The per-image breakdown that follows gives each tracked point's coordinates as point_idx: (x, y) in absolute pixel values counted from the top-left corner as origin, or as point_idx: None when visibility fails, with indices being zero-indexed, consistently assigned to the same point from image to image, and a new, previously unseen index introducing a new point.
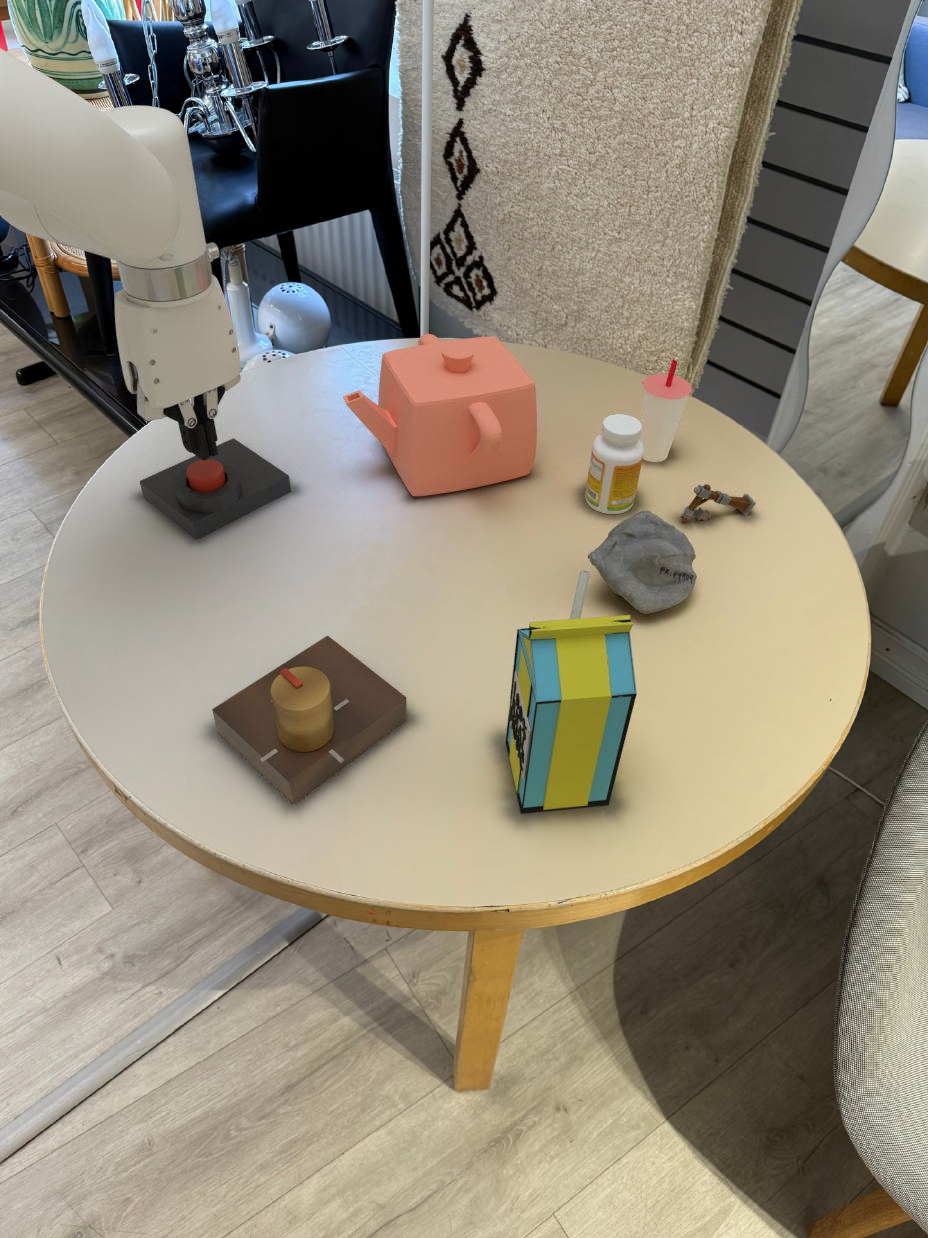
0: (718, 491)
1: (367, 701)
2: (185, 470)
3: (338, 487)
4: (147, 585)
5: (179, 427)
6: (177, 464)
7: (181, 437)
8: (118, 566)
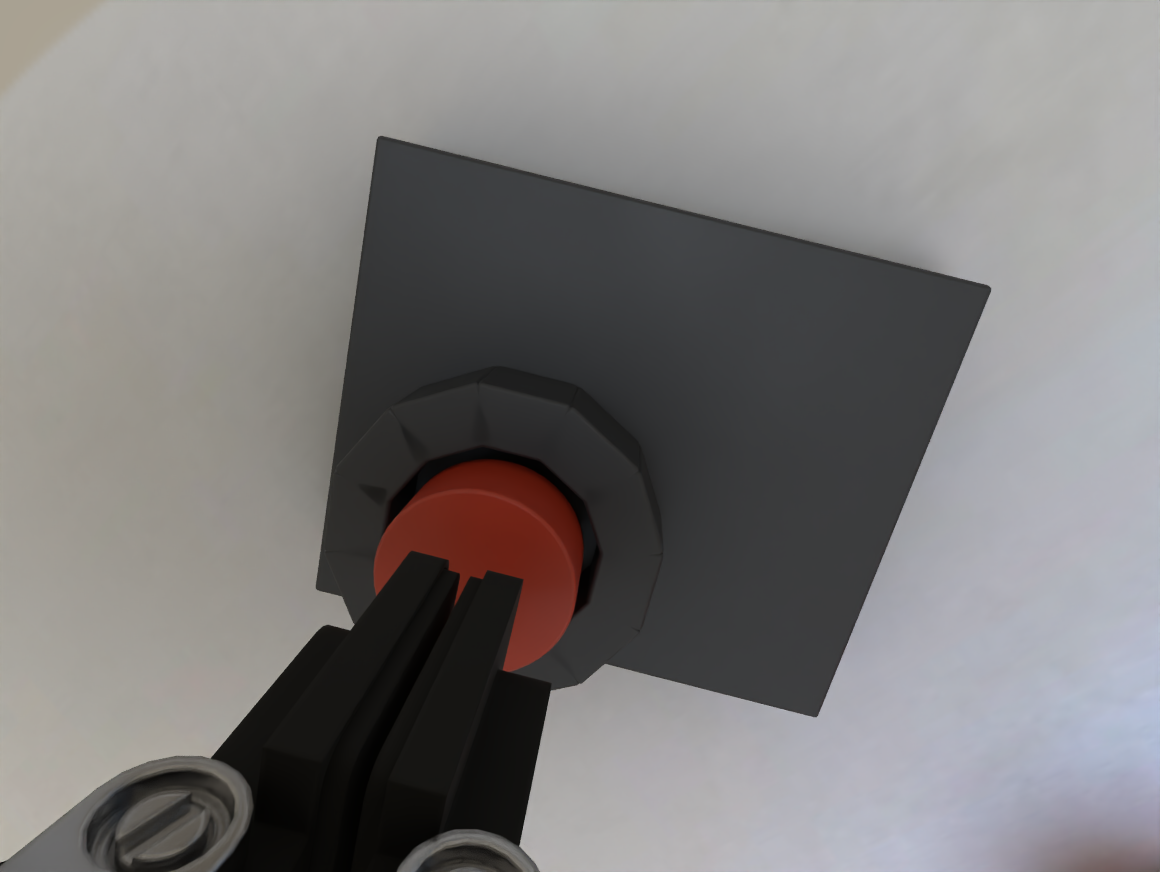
0: None
1: None
2: (484, 404)
3: (915, 786)
4: (87, 559)
5: (233, 734)
6: (606, 203)
7: (291, 663)
8: (71, 405)
